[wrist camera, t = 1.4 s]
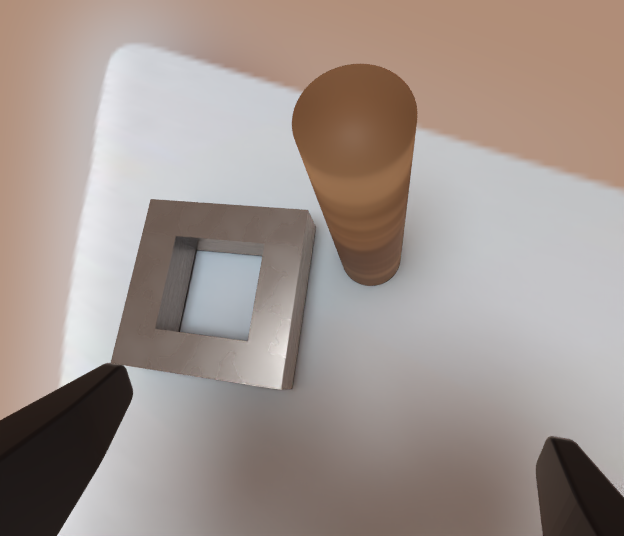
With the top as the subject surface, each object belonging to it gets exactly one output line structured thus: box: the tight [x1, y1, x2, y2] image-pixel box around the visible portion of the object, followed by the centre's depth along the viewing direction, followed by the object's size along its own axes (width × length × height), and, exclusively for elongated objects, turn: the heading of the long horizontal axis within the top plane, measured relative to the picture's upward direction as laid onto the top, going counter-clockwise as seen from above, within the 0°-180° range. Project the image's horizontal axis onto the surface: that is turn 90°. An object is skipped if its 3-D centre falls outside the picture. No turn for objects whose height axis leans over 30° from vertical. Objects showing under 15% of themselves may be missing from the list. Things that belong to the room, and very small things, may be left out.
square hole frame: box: [111, 199, 316, 390], centre depth 23 cm, size 9×9×2 cm
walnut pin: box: [292, 64, 417, 286], centre depth 17 cm, size 3×3×13 cm
